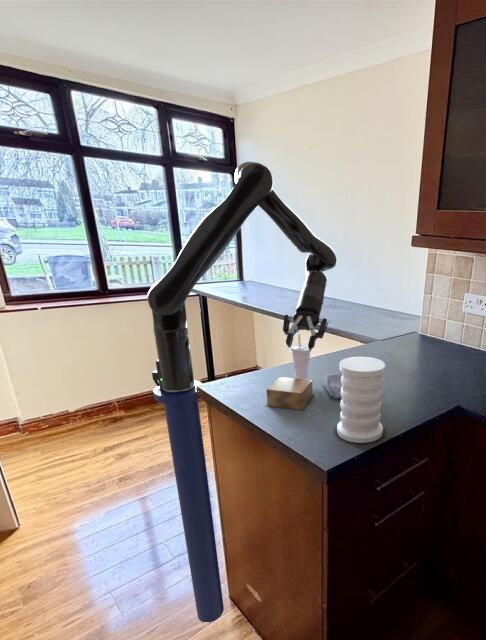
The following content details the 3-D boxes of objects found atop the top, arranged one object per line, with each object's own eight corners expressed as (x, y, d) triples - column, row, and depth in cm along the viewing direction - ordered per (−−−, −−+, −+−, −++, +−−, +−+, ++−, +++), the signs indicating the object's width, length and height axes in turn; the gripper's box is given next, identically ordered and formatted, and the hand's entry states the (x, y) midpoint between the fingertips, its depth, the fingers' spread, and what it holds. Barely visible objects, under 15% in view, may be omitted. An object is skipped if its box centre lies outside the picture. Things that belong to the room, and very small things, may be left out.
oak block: (267, 405, 113) (266, 389, 111) (280, 392, 122) (280, 376, 121) (301, 409, 112) (301, 393, 110) (312, 395, 121) (312, 380, 119)
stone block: (350, 387, 133) (320, 384, 128) (353, 374, 131) (324, 370, 127) (361, 403, 122) (330, 401, 118) (365, 389, 121) (334, 386, 117)
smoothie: (286, 376, 128) (285, 333, 123) (301, 371, 133) (300, 330, 127) (301, 382, 124) (300, 338, 119) (315, 376, 129) (315, 334, 124)
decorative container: (327, 428, 102) (328, 361, 96) (363, 416, 109) (365, 353, 103) (356, 448, 94) (358, 375, 88) (392, 433, 101) (397, 366, 95)
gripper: (286, 292, 127) (273, 339, 121) (330, 296, 125) (319, 343, 119) (292, 306, 134) (280, 350, 127) (334, 309, 132) (324, 355, 125)
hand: (299, 347), depth 123 cm, fingers closed on smoothie, 6 cm apart
